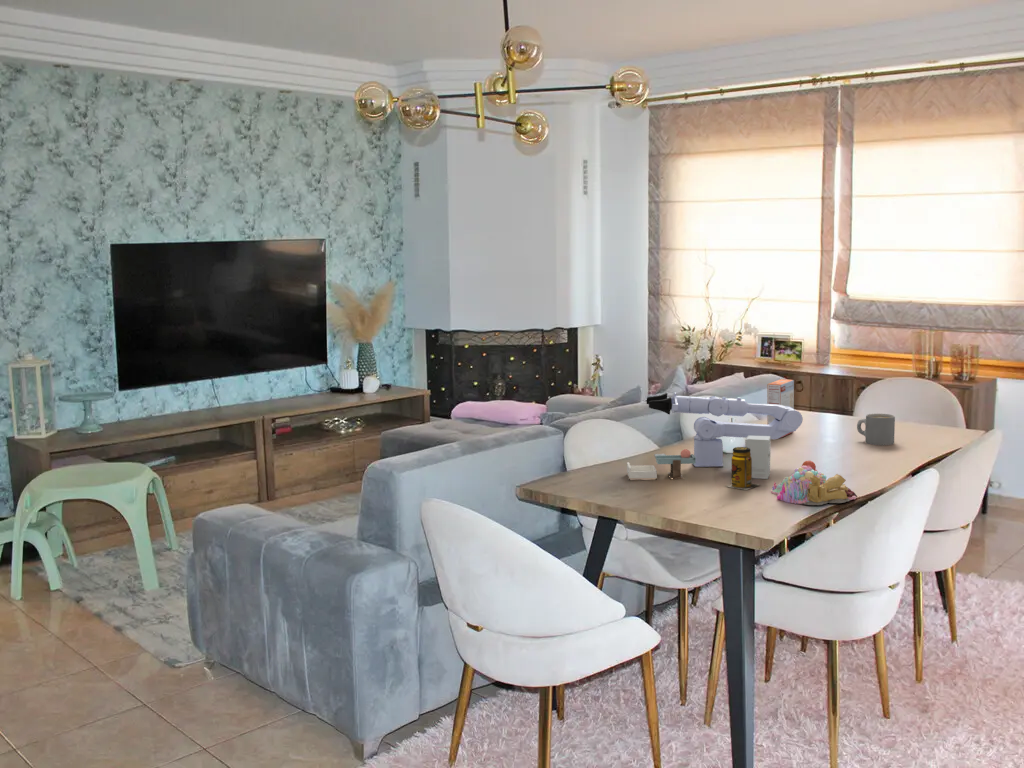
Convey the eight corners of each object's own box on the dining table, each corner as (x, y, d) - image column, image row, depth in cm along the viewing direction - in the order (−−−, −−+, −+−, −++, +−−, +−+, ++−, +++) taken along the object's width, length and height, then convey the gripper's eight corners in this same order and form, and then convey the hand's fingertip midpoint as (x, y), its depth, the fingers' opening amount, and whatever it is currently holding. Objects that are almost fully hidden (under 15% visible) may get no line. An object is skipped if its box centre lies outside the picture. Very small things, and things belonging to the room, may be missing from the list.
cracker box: (779, 431, 392) (780, 378, 390) (794, 432, 389) (795, 379, 386) (765, 437, 381) (766, 383, 378) (781, 438, 378) (781, 384, 375)
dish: (653, 473, 324) (653, 461, 324) (656, 479, 316) (656, 467, 315) (627, 474, 325) (627, 462, 324) (629, 480, 316) (629, 468, 315)
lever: (690, 455, 328) (690, 449, 328) (695, 463, 316) (695, 457, 316) (653, 456, 329) (653, 450, 329) (657, 464, 317) (657, 458, 317)
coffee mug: (899, 442, 365) (900, 415, 363) (884, 446, 359) (884, 419, 357) (867, 437, 375) (867, 411, 374) (851, 441, 369) (852, 414, 368)
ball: (689, 457, 320) (689, 448, 320) (691, 460, 317) (691, 450, 317) (679, 458, 320) (679, 448, 320) (681, 460, 317) (681, 450, 317)
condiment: (725, 486, 305) (725, 448, 303) (741, 481, 311) (741, 444, 309) (745, 490, 300) (746, 451, 298) (761, 485, 305) (761, 447, 304)
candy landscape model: (872, 500, 287) (873, 468, 285) (813, 512, 275) (814, 479, 274) (807, 483, 308) (808, 454, 307) (750, 493, 297) (750, 463, 295)
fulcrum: (680, 473, 324) (680, 455, 323) (683, 479, 316) (683, 460, 315) (667, 473, 324) (667, 455, 323) (670, 479, 316) (670, 461, 315)
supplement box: (768, 479, 313) (768, 440, 311) (744, 478, 316) (744, 439, 314) (770, 474, 320) (771, 435, 318) (747, 473, 322) (747, 434, 321)
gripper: (686, 389, 340) (646, 387, 340) (692, 396, 326) (650, 394, 326) (684, 409, 341) (645, 407, 341) (690, 417, 327) (649, 415, 327)
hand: (647, 402), depth 334 cm, fingers open, 7 cm apart
